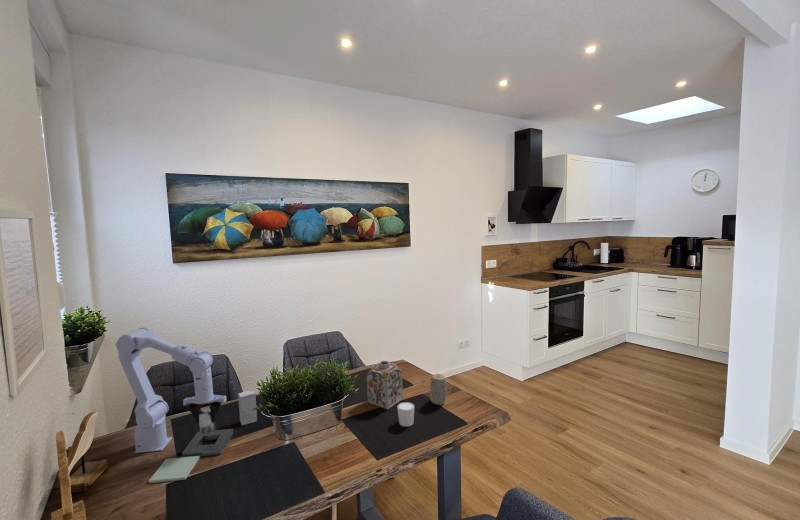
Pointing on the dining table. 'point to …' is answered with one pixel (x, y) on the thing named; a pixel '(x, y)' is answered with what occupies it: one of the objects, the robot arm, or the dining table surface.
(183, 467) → the sage pad
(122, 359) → the robot arm
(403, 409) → the white cup
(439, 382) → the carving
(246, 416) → the skincare box
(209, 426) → the translucent grey cylinder
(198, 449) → the bore plate
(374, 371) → the decorative jar
